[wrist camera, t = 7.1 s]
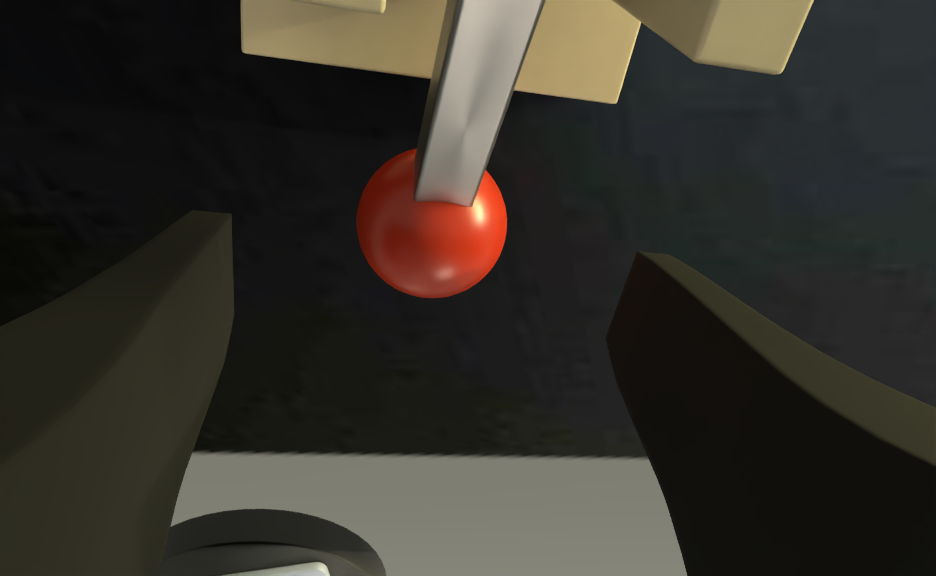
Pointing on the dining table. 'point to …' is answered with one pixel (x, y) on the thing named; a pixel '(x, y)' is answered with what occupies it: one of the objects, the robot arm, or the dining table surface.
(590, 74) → the switch bracket
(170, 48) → the dining table surface
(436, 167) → the switch lever
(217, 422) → the dining table surface
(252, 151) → the dining table surface
